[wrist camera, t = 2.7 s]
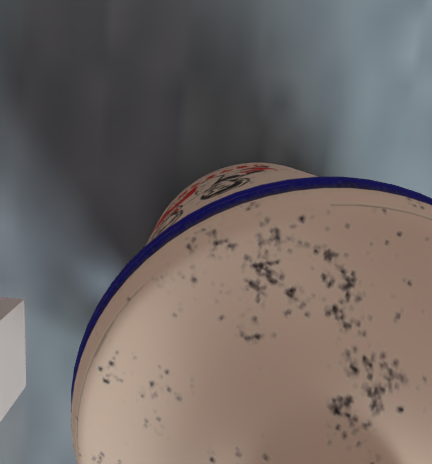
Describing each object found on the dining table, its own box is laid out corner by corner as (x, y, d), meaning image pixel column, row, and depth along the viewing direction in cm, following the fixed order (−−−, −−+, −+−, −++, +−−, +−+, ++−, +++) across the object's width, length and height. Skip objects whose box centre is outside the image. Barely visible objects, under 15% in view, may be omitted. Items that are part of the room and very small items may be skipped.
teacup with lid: (232, 105, 14) (372, -48, 2) (406, 244, 15) (973, 536, 4) (61, 341, 16) (-286, 843, 5) (230, 443, 17) (283, 1002, 6)
